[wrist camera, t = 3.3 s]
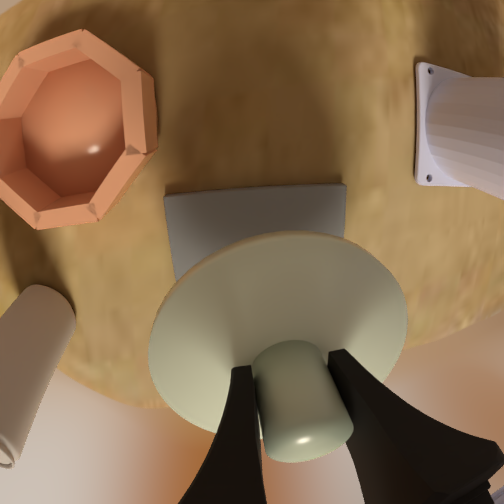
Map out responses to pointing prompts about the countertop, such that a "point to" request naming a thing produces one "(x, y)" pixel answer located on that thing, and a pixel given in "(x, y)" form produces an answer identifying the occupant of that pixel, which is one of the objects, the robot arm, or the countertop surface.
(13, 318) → the beverage can
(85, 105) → the bowl
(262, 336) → the lid
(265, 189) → the mat
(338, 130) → the countertop surface
